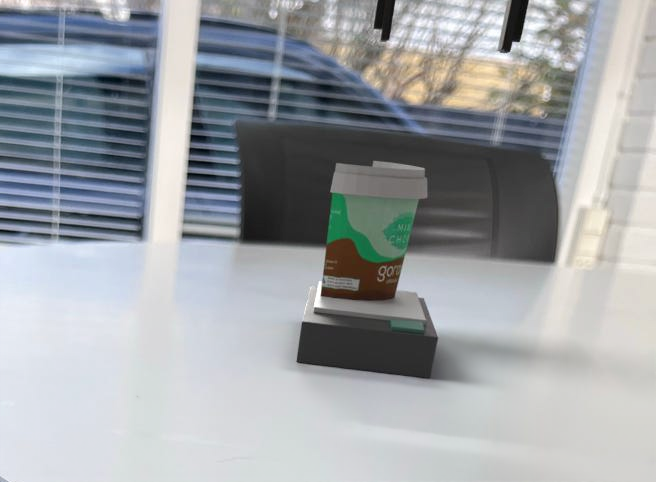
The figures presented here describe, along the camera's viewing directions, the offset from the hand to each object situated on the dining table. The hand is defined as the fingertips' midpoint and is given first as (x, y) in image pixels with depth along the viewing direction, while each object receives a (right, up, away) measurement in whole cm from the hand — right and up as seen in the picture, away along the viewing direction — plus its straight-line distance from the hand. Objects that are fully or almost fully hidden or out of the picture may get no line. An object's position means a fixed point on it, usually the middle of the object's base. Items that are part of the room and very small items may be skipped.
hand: (443, 46), depth 86 cm
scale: (-6, -24, +1) cm, 25 cm away
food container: (-5, -19, +4) cm, 20 cm away
